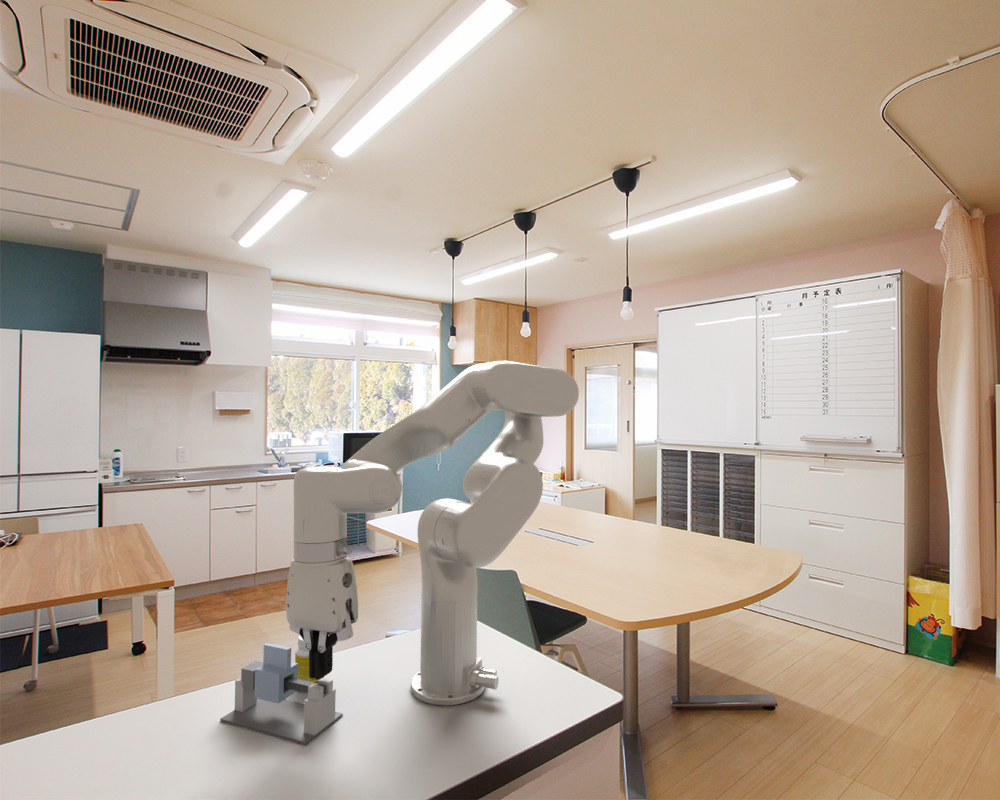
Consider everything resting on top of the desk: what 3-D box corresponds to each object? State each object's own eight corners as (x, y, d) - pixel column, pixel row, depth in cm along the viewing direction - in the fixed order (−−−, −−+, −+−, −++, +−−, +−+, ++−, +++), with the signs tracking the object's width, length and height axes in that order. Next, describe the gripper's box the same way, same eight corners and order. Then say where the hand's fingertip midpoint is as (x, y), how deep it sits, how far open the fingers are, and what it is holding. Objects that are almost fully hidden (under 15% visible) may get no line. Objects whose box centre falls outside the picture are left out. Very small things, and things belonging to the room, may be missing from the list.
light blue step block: (297, 690, 83) (298, 643, 83) (278, 703, 79) (279, 653, 79) (274, 685, 85) (275, 638, 85) (254, 697, 81) (255, 649, 81)
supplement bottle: (314, 694, 88) (315, 643, 89) (288, 691, 89) (289, 640, 90) (329, 680, 93) (330, 631, 93) (304, 678, 94) (305, 629, 94)
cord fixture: (342, 716, 82) (343, 670, 82) (306, 745, 75) (307, 694, 75) (261, 695, 88) (262, 652, 88) (220, 721, 80) (221, 674, 81)
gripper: (377, 548, 81) (378, 671, 80) (298, 540, 86) (298, 656, 86) (346, 561, 74) (346, 696, 73) (262, 552, 79) (262, 678, 79)
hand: (320, 674), depth 80 cm, fingers closed
